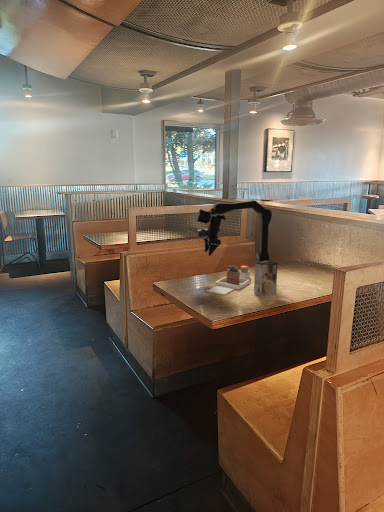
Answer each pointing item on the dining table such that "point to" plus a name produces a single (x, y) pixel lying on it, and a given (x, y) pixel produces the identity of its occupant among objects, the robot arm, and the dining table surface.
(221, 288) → the mat
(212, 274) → the dining table surface
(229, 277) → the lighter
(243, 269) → the plunger
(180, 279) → the dining table surface
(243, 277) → the holder
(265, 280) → the coffee box
